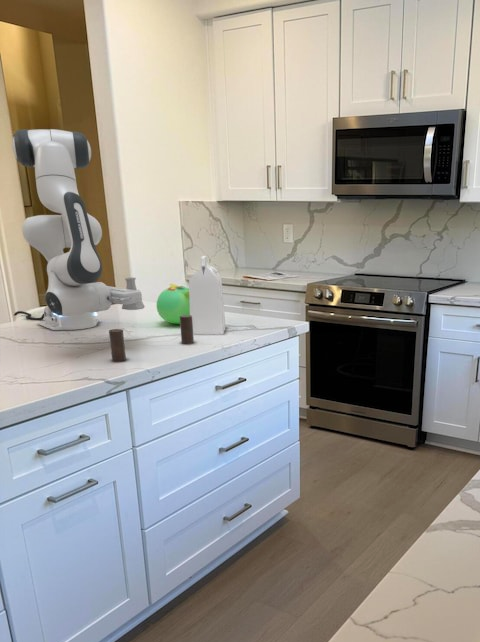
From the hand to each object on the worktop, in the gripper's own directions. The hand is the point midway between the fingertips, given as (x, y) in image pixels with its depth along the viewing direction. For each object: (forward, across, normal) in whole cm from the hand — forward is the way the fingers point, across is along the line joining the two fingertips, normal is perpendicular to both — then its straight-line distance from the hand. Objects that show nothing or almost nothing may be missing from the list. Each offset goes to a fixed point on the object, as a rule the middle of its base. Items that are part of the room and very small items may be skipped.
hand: (133, 291), depth 200 cm
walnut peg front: (-21, -16, +16) cm, 31 cm away
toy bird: (+28, +9, +16) cm, 34 cm away
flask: (-1, 0, +6) cm, 6 cm away
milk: (+25, -8, +16) cm, 31 cm away
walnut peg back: (+7, -16, +16) cm, 24 cm away
